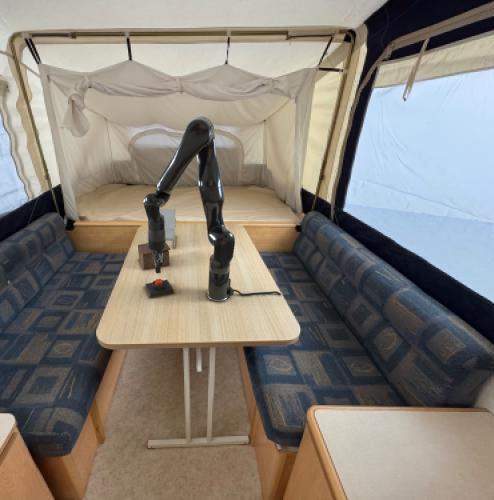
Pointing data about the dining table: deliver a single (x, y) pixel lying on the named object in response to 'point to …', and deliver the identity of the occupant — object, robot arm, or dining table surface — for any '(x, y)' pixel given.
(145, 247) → the lid
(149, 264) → the chest
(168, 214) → the chair
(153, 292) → the control block
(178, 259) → the dining table surface
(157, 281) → the button
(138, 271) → the dining table surface
